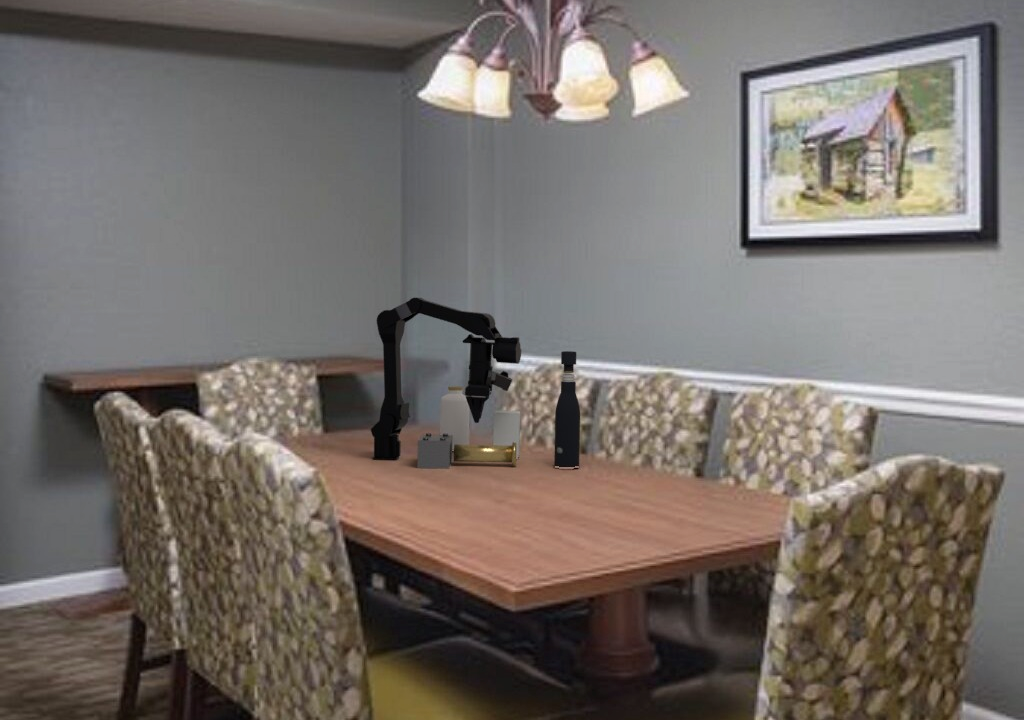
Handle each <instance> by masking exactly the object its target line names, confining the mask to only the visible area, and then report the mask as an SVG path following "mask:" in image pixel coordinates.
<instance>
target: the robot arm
mask: <svg viewBox="0 0 1024 720" xmlns="http://www.w3.org/2000/svg"><path fill="white" fill-rule="evenodd" d="M419 314H421V315H423V316H428V317H431V318H434V319H438V320H440V321H443V322H447V323H451V324H453V325H456V326H459V327H460V328H462V329H464V330H465V331H467V332H469V333H470V334H468V335H467V337H466V338H464V339H463V340H462V343H463V344H470V346H469V363H468V381H467V386H465V388H464V389H465V390H464V395H465V396H466V399H467V402H468V405H469V408H470V414H471V416H472V419H473V422H474V424H475V423H476V424H478V423H479V422H480V419H481V418H482V415H483V410H484V406H485V402H487V400H490V396H491V395H492V392H493V386H494V387H495V386H496V387H498V388H500V389H501V390H503V391H505V392H508V391H509V389H510V386H511V384H512V382H513V379H512V378H511V377H509V372H507V371H504V370H502V371H501V372H497V371H494V370H493V366H492V359H494V360H495V362H497V363H500V364H501V363H503V364H517V365H518V364H520V362H521V360H522V359H521V357H522V348H521V342H520V337H518V336H517V337H516V336H514V337H504V336H503V335H502V334H501V333H500V331H499V330H498V328H497V327H496V320H495V318H494V316H492V315H491V314H490V313H487V312H477V311H476V312H475V311H467V310H460V309H457V308H454V307H450V306H447V305H444V304H440V303H437V302H434V301H430V300H427V299H424V298H423V297H412V298H410V299H409V300H408V301H406V302H404V303H402V304H400V305H398V306H396V307H394V308H392V309H386V310H382V311H380V313H379V314H378V315H377V316H376V327H377V331H378V332H377V333H378V335H379V337H380V340H381V342H382V346H383V347H382V348H383V349H382V351H383V380H384V382H383V383H384V384H383V385H384V386H383V387H384V397H383V400H382V404H381V406H380V411H379V418H378V421H377V422H376V423H375V424H374V425H373V426H372V427H371V428H370V434H371V435H372V437H373V457H372V460H394V461H395V460H398V459H399V458H400V457H401V456H402V454H401V452H402V448H401V447H402V445H401V444H402V441H401V439H399V438H400V437H399V436H400V434H401V432H402V429H403V428H404V427H405V426H406V425H407V424H408V420H409V418H411V416H410V412H409V410H410V402H405V401H404V399H403V396H402V368H401V367H402V365H401V363H402V362H401V358H402V357H401V342H402V339H403V336H404V333H405V325H406V323H407V322H409V321H412V319H414V318H415V317H416V316H418V315H419ZM474 335H475V336H474ZM476 336H478V337H476ZM479 336H481V337H479ZM486 340H487V341H486ZM493 341H494V342H493Z"/></svg>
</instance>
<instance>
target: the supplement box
mask: <svg viewBox="0 0 1024 720" xmlns="http://www.w3.org/2000/svg"><path fill="white" fill-rule="evenodd" d="M492 423H493V424H492V445H510V446H512V443H513V442H516V457H519V458H520V447H521V446H520V443H521V410H494V411H493V421H492Z"/></svg>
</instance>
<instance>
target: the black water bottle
mask: <svg viewBox="0 0 1024 720" xmlns="http://www.w3.org/2000/svg"><path fill="white" fill-rule="evenodd" d="M560 358H561V359H560V365H563V374H562V376H561V377H562V378H561V381H560V394H559V396H558V399H557V402H556V407H555V410H554V411H555V412H554V415H555V416H554V417H555V418H554V457H553V458H554V461H553V463H554V465H555V466H559V467H575V466H579V467H580V443H581V440H580V439H581V438H580V437H581V409H580V408H581V407H580V402H579V400H578V396H577V393H576V392H577V391H576V387H577V386H576V385H577V384H576V382H577V381H575V380H576V379H575V378H576V376H575V374H573V373H574V372H575V371H574V365H577V351H570V350H569V351H568V350H565V351H561V356H560ZM554 465H553V466H554Z"/></svg>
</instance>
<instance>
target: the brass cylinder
mask: <svg viewBox="0 0 1024 720" xmlns="http://www.w3.org/2000/svg"><path fill="white" fill-rule="evenodd" d="M453 461H454V462H459V463H460V462H461V463H462V462H464V463H465V462H466V463H467V462H468V463H511V466H512V465H516V466H517V459H516V442H513V443H512V446H510V445H493V444H469V445H456V444H455V445H454V452H453Z"/></svg>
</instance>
